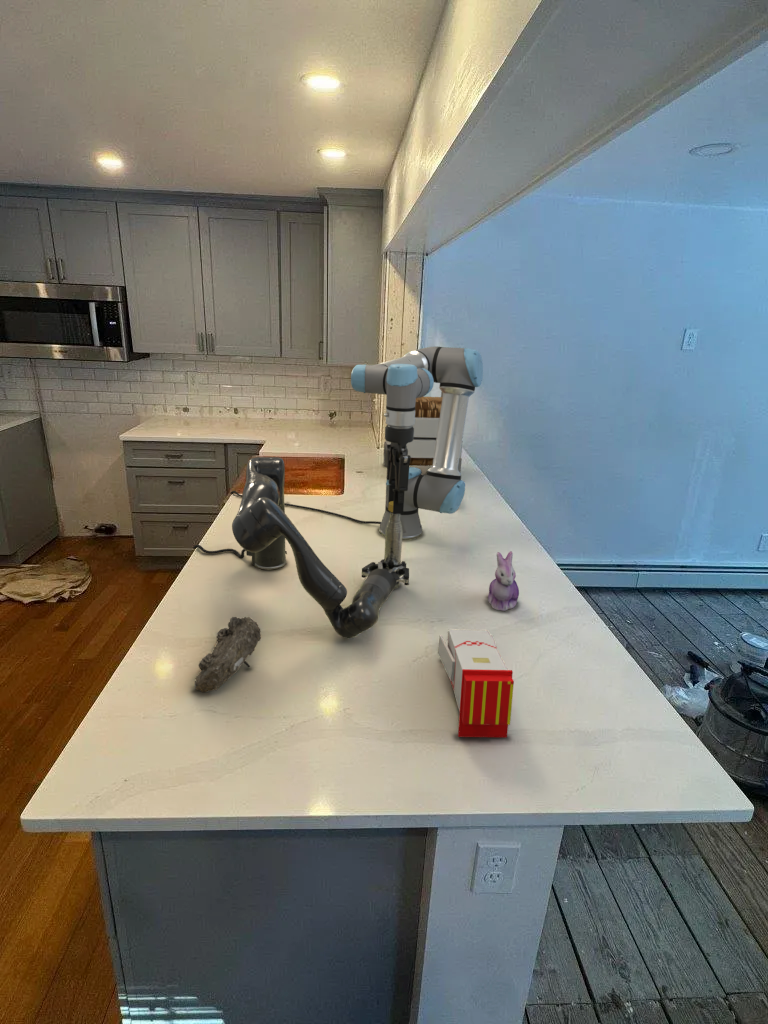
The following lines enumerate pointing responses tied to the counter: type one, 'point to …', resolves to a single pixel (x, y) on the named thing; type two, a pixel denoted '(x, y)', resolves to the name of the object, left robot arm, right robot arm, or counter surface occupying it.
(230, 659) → the fossil
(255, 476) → the left robot arm
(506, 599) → the figurine
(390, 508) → the cap
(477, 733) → the toy
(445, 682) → the counter surface
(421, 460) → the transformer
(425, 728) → the counter surface
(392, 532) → the bottle
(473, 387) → the right robot arm
